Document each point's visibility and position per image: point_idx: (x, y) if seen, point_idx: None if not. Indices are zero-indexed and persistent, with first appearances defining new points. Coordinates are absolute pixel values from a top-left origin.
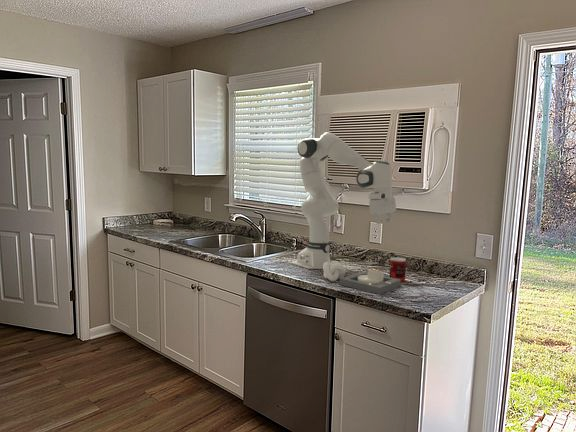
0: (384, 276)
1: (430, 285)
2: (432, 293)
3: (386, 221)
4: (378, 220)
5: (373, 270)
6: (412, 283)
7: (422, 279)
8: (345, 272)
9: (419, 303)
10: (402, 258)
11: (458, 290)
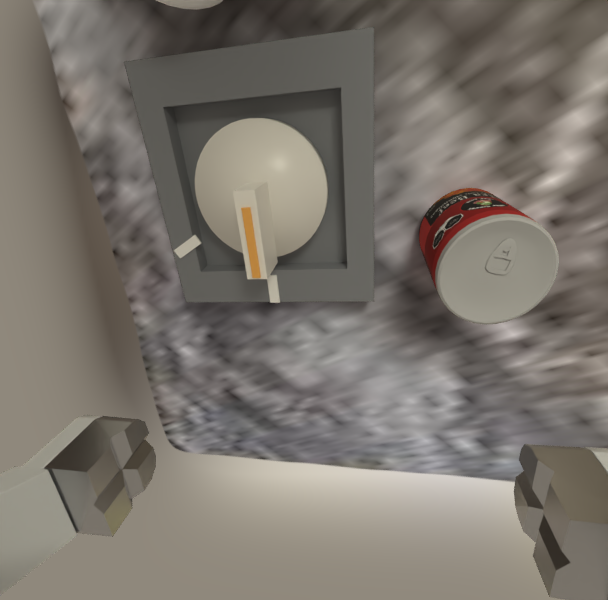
0: (368, 214)
1: (474, 370)
2: (363, 407)
3: (525, 453)
4: (43, 504)
5: (244, 225)
6: None
7: (569, 309)
8: (211, 6)
9: (229, 412)
10: (545, 283)
11: (473, 453)
